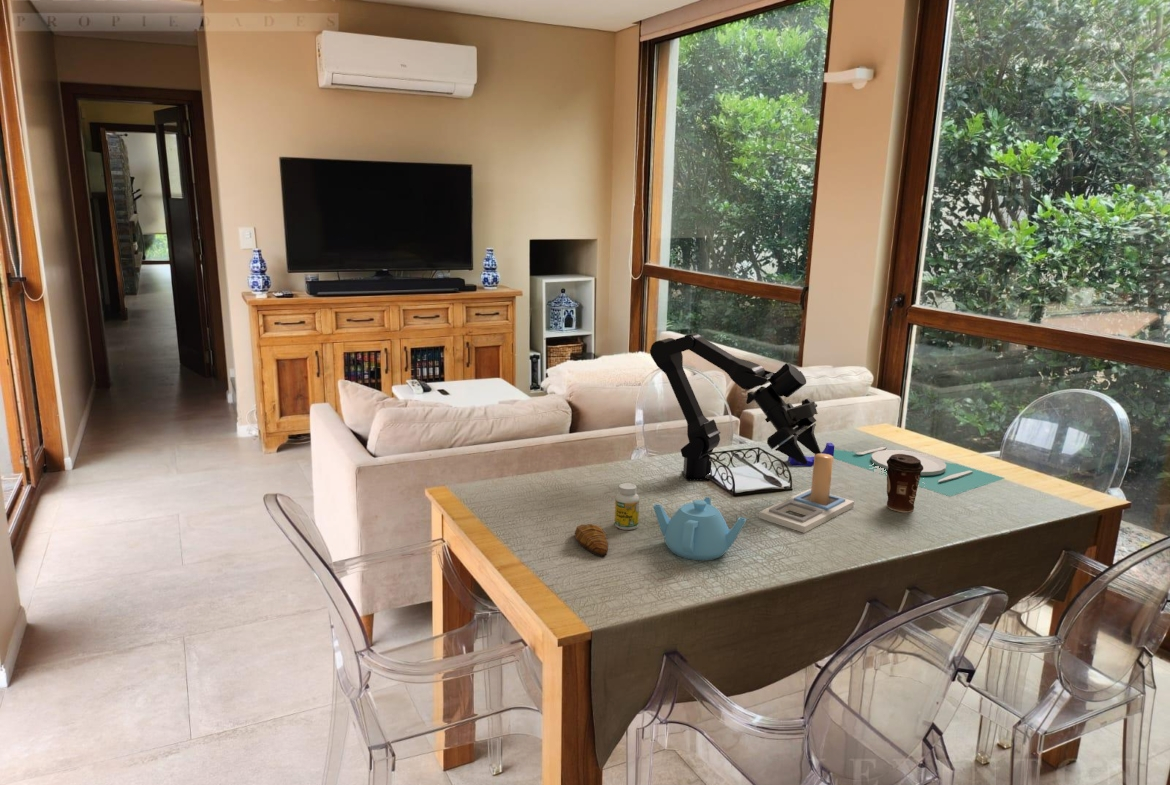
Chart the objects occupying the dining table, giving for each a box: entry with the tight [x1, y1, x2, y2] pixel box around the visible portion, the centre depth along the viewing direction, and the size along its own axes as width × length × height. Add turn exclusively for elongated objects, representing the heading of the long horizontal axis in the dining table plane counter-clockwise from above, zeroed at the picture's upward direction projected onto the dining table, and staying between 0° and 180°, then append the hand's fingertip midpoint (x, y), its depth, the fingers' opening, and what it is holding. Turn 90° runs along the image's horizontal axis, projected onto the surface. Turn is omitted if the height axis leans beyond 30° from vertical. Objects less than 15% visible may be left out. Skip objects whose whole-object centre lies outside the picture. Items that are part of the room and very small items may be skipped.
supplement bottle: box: [614, 482, 640, 531], centre depth 184 cm, size 5×5×10 cm
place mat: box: [820, 446, 1005, 498], centre depth 235 cm, size 45×30×2 cm
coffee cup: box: [886, 454, 923, 514], centre depth 200 cm, size 9×8×13 cm
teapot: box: [652, 496, 747, 561], centre depth 173 cm, size 15×15×11 cm
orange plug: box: [810, 453, 834, 506], centre depth 199 cm, size 4×4×13 cm
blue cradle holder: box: [787, 442, 835, 467], centre depth 233 cm, size 12×4×6 cm, turn 87°
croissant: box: [573, 523, 609, 557], centre depth 174 cm, size 14×7×5 cm, turn 23°
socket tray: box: [758, 488, 855, 534], centre depth 197 cm, size 24×12×2 cm, turn 136°
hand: (812, 459), depth 200 cm, fingers open, 9 cm apart
